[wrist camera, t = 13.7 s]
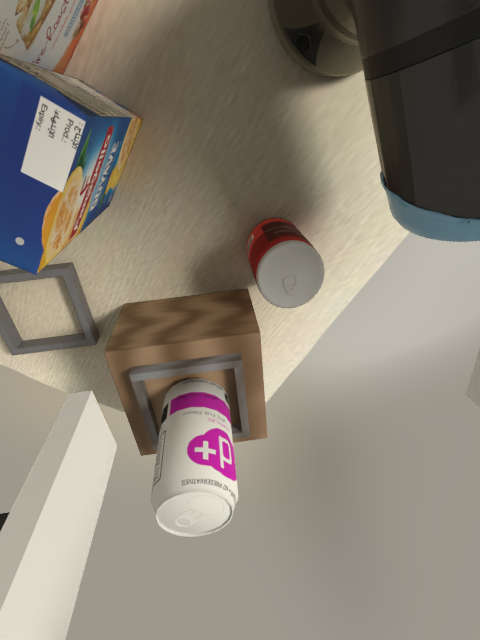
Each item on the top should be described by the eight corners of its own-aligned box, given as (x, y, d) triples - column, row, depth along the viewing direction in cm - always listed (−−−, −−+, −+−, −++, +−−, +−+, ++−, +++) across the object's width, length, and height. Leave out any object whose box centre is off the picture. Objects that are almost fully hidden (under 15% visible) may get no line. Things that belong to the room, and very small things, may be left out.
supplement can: (193, 363, 41) (191, 475, 28) (241, 397, 45) (258, 510, 32) (150, 401, 43) (129, 521, 31) (198, 431, 47) (198, 549, 34)
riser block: (247, 288, 50) (262, 339, 38) (255, 382, 59) (269, 446, 48) (124, 303, 49) (100, 360, 38) (151, 396, 59) (139, 464, 47)
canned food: (261, 281, 50) (275, 319, 40) (235, 234, 46) (244, 264, 36) (309, 256, 49) (335, 289, 39) (286, 205, 45) (309, 228, 35)
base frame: (72, 262, 46) (67, 267, 44) (99, 337, 52) (95, 344, 50) (-20, 273, 45) (-29, 279, 43) (18, 347, 51) (12, 355, 49)
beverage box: (143, 117, 38) (87, 115, 19) (108, 206, 42) (35, 275, 24) (81, 79, 36) (-51, 34, 17) (51, 177, 40) (-81, 228, 21)
